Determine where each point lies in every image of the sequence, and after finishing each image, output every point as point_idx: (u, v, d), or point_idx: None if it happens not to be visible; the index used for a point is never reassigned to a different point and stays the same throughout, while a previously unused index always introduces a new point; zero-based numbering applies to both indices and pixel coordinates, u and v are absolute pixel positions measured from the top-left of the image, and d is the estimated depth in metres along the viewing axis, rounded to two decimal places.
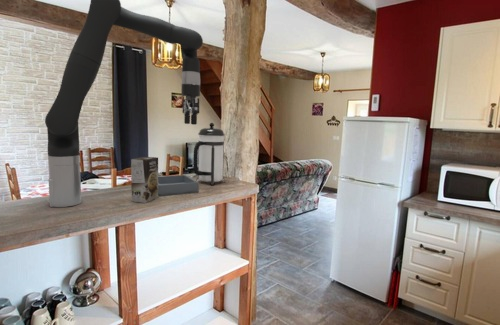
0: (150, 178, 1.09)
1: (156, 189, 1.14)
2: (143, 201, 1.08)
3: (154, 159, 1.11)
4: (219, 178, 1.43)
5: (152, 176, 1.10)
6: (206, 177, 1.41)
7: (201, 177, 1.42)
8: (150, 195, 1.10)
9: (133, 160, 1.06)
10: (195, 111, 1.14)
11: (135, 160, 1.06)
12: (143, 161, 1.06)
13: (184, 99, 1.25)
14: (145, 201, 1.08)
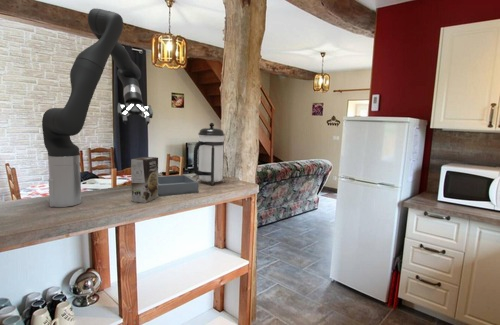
0: (150, 178, 1.09)
1: (156, 189, 1.14)
2: (143, 201, 1.08)
3: (154, 159, 1.11)
4: (219, 178, 1.43)
5: (152, 176, 1.10)
6: (206, 177, 1.41)
7: (201, 177, 1.42)
8: (150, 195, 1.10)
9: (133, 160, 1.06)
10: None
11: (135, 160, 1.06)
12: (143, 161, 1.06)
13: (120, 104, 1.26)
14: (145, 201, 1.08)
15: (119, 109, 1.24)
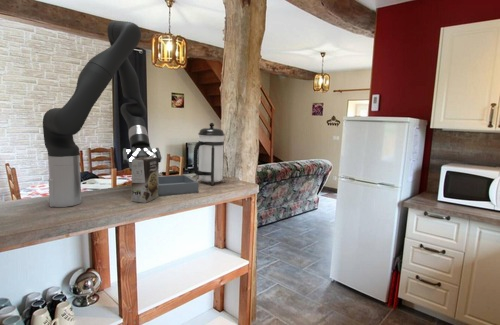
0: (151, 178, 1.09)
1: (156, 189, 1.14)
2: (143, 201, 1.08)
3: (154, 159, 1.11)
4: (219, 178, 1.43)
5: (152, 176, 1.10)
6: (206, 177, 1.41)
7: (201, 177, 1.42)
8: (151, 195, 1.10)
9: (133, 160, 1.06)
10: None
11: (135, 160, 1.06)
12: (143, 161, 1.06)
13: (125, 148, 1.15)
14: (145, 201, 1.08)
15: (125, 155, 1.13)
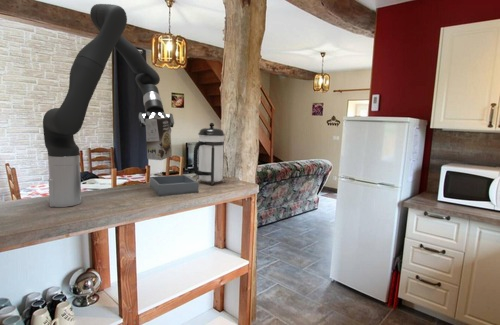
0: (164, 137, 1.15)
1: (169, 148, 1.20)
2: (158, 158, 1.14)
3: (167, 119, 1.16)
4: (219, 178, 1.43)
5: (165, 135, 1.15)
6: (206, 177, 1.41)
7: (201, 177, 1.42)
8: (165, 153, 1.16)
9: (147, 119, 1.11)
10: None
11: (149, 119, 1.11)
12: (157, 120, 1.11)
13: (141, 113, 1.21)
14: (160, 158, 1.14)
15: (142, 119, 1.18)
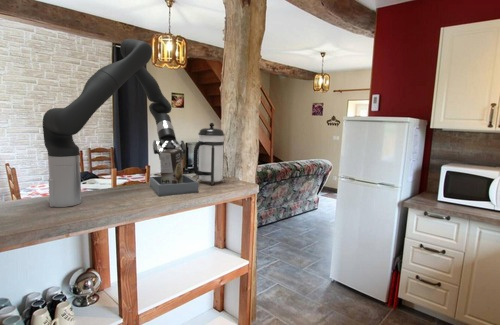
0: (177, 168, 1.26)
1: (181, 177, 1.31)
2: None
3: (179, 151, 1.27)
4: (219, 178, 1.43)
5: (178, 166, 1.26)
6: (206, 177, 1.41)
7: (201, 177, 1.42)
8: (177, 182, 1.27)
9: (162, 153, 1.22)
10: None
11: (163, 153, 1.22)
12: (171, 154, 1.21)
13: (155, 141, 1.31)
14: None
15: (155, 146, 1.29)
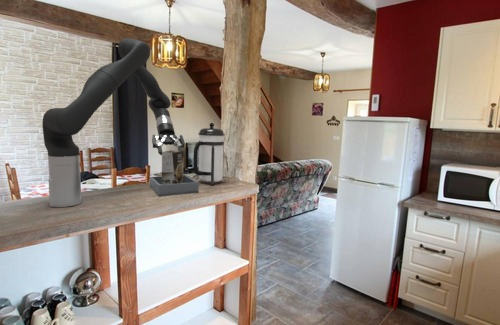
0: (178, 168, 1.27)
1: (182, 178, 1.32)
2: None
3: (180, 152, 1.29)
4: (219, 178, 1.43)
5: (179, 166, 1.27)
6: (206, 177, 1.41)
7: (201, 177, 1.42)
8: (178, 183, 1.28)
9: (163, 153, 1.24)
10: None
11: (165, 153, 1.24)
12: (172, 153, 1.23)
13: (154, 135, 1.33)
14: None
15: (154, 141, 1.30)
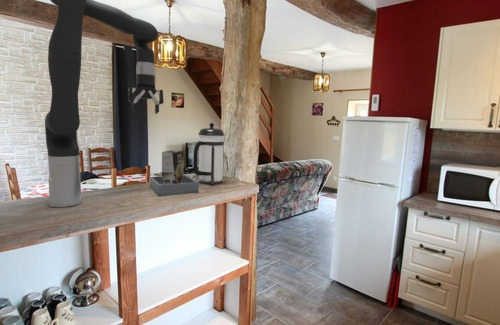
0: (178, 168, 1.27)
1: (182, 178, 1.32)
2: None
3: (180, 152, 1.29)
4: (219, 178, 1.43)
5: (179, 166, 1.27)
6: (206, 177, 1.41)
7: (201, 177, 1.42)
8: (178, 183, 1.28)
9: (163, 153, 1.24)
10: None
11: (165, 153, 1.24)
12: (172, 153, 1.23)
13: (131, 87, 1.21)
14: None
15: (130, 96, 1.21)
